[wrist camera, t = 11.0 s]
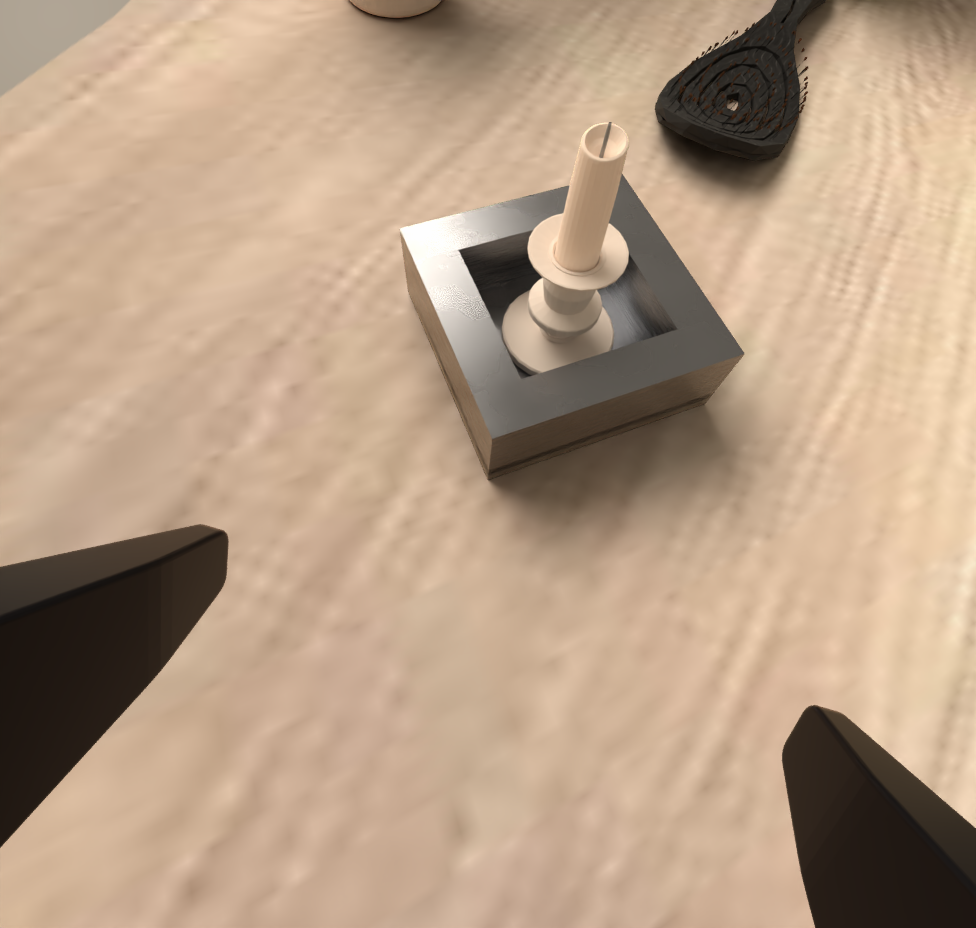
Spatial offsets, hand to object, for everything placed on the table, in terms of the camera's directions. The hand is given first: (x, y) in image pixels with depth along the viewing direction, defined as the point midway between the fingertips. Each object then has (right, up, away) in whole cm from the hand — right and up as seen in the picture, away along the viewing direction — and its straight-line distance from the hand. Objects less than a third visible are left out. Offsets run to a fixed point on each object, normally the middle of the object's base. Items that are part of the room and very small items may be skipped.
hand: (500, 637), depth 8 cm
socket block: (+3, +8, +19) cm, 21 cm away
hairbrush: (+18, +29, +29) cm, 45 cm away
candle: (+3, +9, +18) cm, 20 cm away
